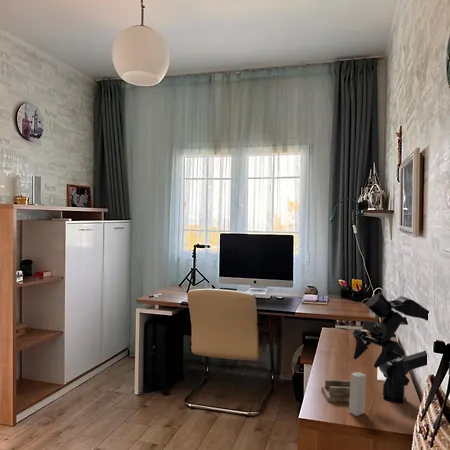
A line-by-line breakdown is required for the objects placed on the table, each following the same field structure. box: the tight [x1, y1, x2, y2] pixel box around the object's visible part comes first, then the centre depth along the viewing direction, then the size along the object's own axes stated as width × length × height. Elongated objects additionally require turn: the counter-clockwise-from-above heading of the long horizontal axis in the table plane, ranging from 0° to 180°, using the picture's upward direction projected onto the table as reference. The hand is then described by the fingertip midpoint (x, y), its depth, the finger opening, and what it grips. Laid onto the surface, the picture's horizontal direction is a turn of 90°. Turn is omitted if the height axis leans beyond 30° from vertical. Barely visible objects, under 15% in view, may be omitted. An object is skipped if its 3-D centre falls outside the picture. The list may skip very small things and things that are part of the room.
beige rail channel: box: [320, 378, 350, 403], centre depth 151 cm, size 11×9×4 cm
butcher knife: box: [376, 367, 386, 382], centre depth 174 cm, size 5×15×1 cm, turn 160°
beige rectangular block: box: [348, 371, 367, 417], centre depth 139 cm, size 4×3×12 cm
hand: (364, 362), depth 145 cm, fingers open, 9 cm apart
